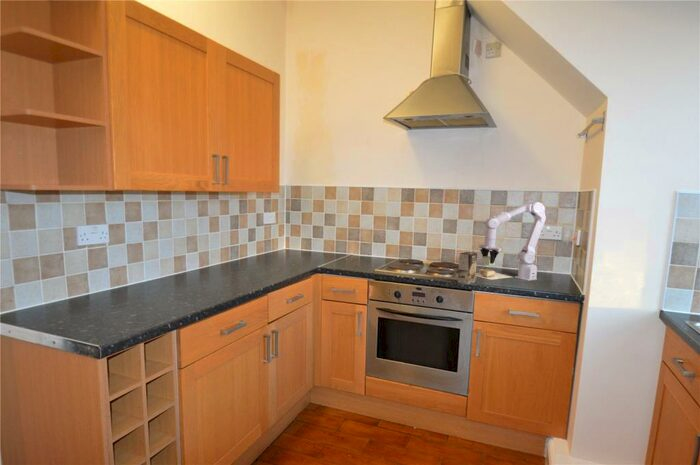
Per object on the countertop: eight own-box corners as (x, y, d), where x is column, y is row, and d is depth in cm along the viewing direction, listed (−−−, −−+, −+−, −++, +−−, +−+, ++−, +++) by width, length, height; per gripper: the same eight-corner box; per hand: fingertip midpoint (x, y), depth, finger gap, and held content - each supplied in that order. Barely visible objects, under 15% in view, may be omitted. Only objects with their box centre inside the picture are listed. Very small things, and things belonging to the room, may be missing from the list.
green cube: (494, 265, 233) (495, 257, 233) (489, 265, 231) (489, 257, 231) (488, 263, 237) (489, 256, 237) (482, 264, 235) (483, 256, 235)
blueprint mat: (512, 277, 235) (512, 276, 235) (490, 280, 226) (490, 279, 225) (490, 272, 248) (490, 271, 248) (469, 274, 239) (469, 273, 239)
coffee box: (468, 284, 214) (470, 254, 212) (457, 282, 218) (459, 253, 216) (475, 282, 221) (477, 252, 219) (464, 280, 225) (466, 251, 223)
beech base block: (494, 277, 233) (494, 271, 232) (486, 277, 230) (487, 271, 229) (486, 274, 238) (486, 269, 237) (478, 275, 235) (479, 269, 234)
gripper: (475, 237, 237) (474, 260, 238) (495, 240, 224) (493, 265, 226) (484, 237, 240) (482, 259, 242) (504, 240, 228) (502, 264, 229)
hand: (488, 262), depth 234 cm, fingers closed on green cube, 4 cm apart
